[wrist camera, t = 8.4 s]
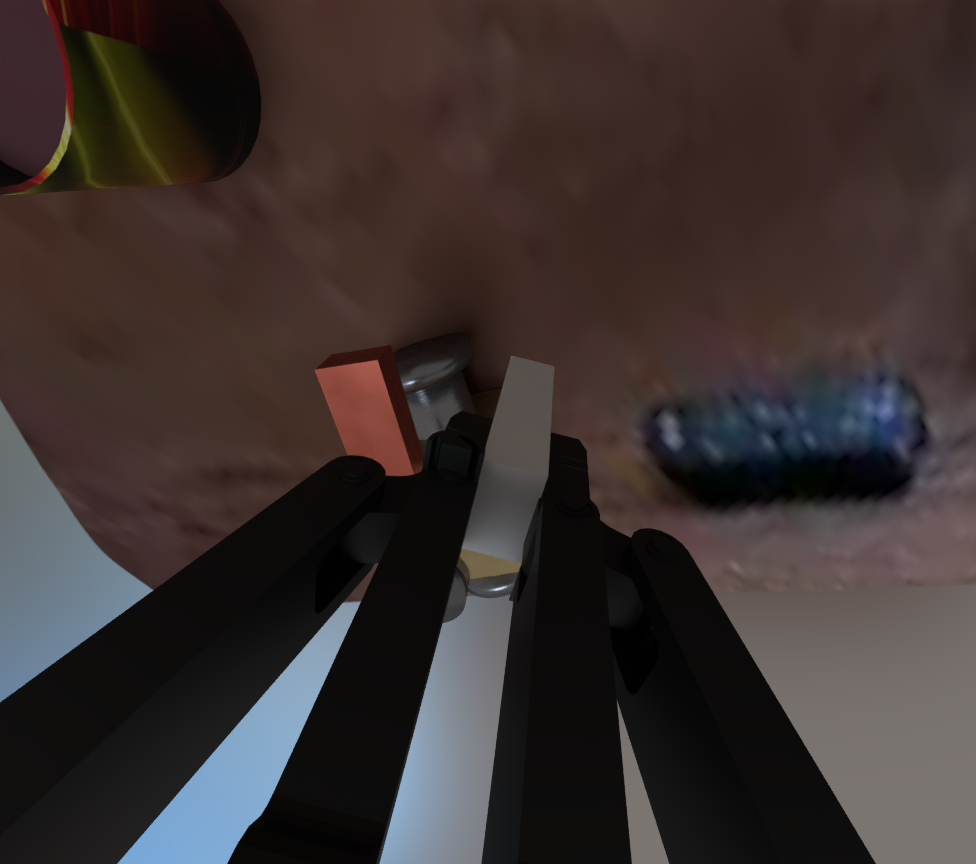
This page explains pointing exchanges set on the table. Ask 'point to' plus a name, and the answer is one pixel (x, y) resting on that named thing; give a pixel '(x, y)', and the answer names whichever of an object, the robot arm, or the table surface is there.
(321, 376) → the lever
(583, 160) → the table surface
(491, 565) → the valve
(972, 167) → the table surface
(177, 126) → the mug
